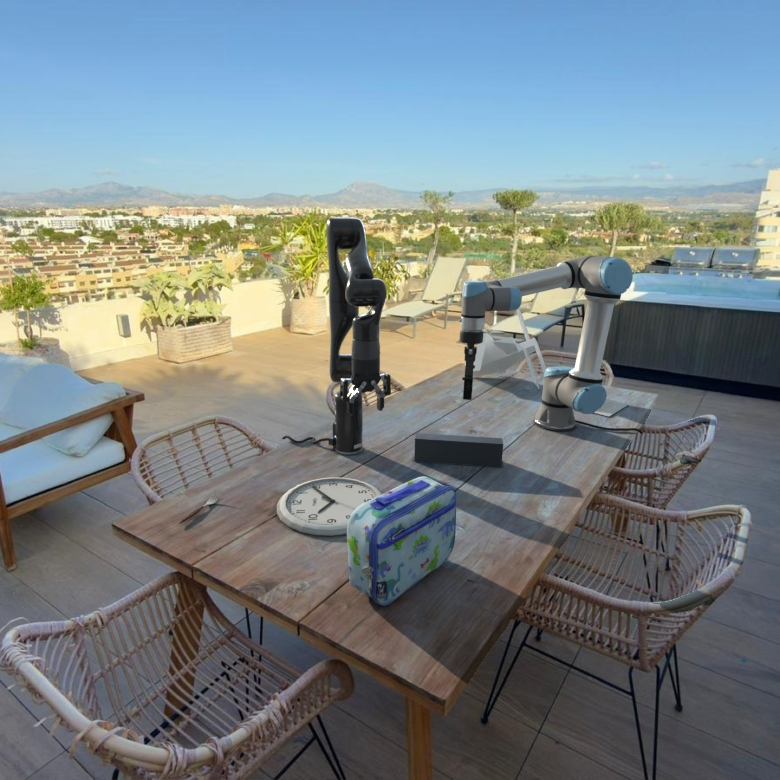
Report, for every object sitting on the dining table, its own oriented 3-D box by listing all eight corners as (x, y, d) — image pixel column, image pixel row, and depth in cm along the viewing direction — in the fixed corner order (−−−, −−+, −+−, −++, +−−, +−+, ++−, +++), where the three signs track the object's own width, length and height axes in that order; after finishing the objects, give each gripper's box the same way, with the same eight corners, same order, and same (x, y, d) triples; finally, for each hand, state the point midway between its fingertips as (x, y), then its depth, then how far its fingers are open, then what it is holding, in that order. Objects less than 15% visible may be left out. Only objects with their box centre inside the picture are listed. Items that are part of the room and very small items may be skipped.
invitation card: (608, 416, 214) (573, 407, 224) (608, 416, 214) (573, 408, 224) (628, 404, 229) (594, 396, 238) (628, 405, 229) (594, 397, 238)
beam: (500, 460, 172) (502, 438, 170) (501, 467, 167) (503, 444, 165) (415, 455, 175) (416, 432, 173) (414, 461, 171) (415, 438, 168)
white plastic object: (486, 418, 267) (465, 395, 242) (467, 346, 289) (447, 318, 264) (556, 394, 255) (543, 367, 230) (531, 321, 277) (516, 289, 252)
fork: (175, 524, 132) (174, 517, 132) (215, 495, 146) (215, 489, 146) (183, 526, 131) (182, 519, 131) (223, 497, 146) (222, 490, 145)
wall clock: (392, 527, 129) (268, 531, 127) (391, 533, 130) (269, 537, 127) (383, 473, 158) (282, 475, 155) (383, 478, 158) (282, 480, 156)
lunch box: (376, 619, 101) (377, 524, 95) (340, 592, 109) (339, 502, 102) (459, 562, 119) (465, 479, 113) (424, 542, 126) (427, 463, 120)
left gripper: (383, 349, 145) (382, 404, 150) (335, 354, 139) (336, 411, 144) (396, 355, 139) (394, 412, 144) (346, 361, 132) (346, 420, 138)
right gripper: (461, 322, 180) (457, 382, 186) (459, 336, 156) (454, 404, 163) (483, 324, 179) (478, 383, 185) (484, 338, 155) (479, 405, 162)
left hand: (365, 412), depth 144 cm, fingers open, 8 cm apart
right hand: (467, 393), depth 174 cm, fingers open, 13 cm apart
